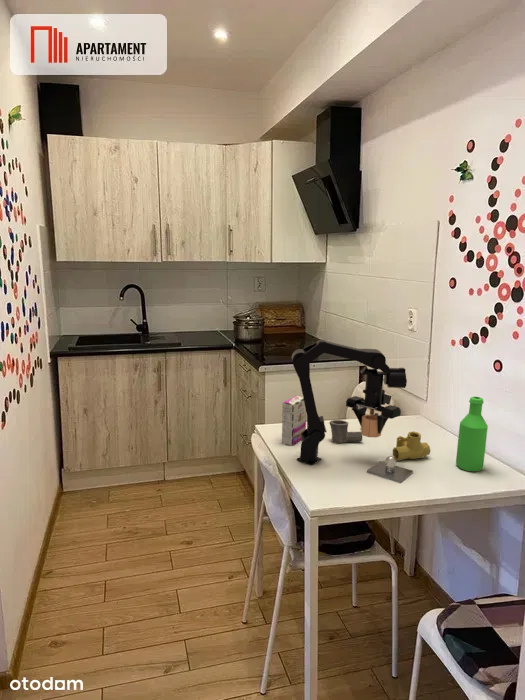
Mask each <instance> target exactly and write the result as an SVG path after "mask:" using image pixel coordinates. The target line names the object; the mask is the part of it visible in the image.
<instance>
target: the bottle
mask: <svg viewBox="0 0 525 700" xmlns="http://www.w3.org/2000/svg"><path fill="white" fill-rule="evenodd" d="M468 402H469V407H468V409H469V410H468V413H467V414H466V415H465V416H464V418H462V419H461V421H460V422H459V430H458V437H457V449H456V458H455V464H456V466H457V467H458V469H459V468H460V469H461V470H463V471H467V472H470V471H476V472H479V471H481V470H483V469H484V462H485V457H486V456H485V455H486V445H487V438H488V428H489V426H488V424H487V423H486V421H485V419H484V417H483V415H482V412H483V404H484V399H483V398H482V397H479V396H471V397H469V401H468Z"/></svg>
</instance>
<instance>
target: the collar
mask: <svg viewBox="0 0 525 700" xmlns="http://www.w3.org/2000/svg"><path fill="white" fill-rule="evenodd" d="M379 415H380V414H379V412H374V415H370V413H369V414H365V415H363V416H362V425H360V428H361V430H360V432H361V434H362V437H367V438H379V437H381V436H382V432H381V433H380V434H379V433H378V423H377V416H379Z"/></svg>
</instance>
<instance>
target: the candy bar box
mask: <svg viewBox="0 0 525 700" xmlns="http://www.w3.org/2000/svg"><path fill="white" fill-rule="evenodd" d="M281 415H282V417H281V419H282V420H281V422H282V423H281V425H282V426H281V427H282V428H281V443H282V444H283V445H288V446H290V447H291V446H292V447H293V446H294V445H296V444H298V443H299V442H300V441H302V438H301V433H302V432H303V431H305V430H306V429H307V412H306V408H305V403H304V398H303V396H301V395H295V396H293V397H290V398H288V399H287V400H285V401H283V402H282V414H281Z"/></svg>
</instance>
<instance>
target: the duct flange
mask: <svg viewBox="0 0 525 700" xmlns="http://www.w3.org/2000/svg"><path fill="white" fill-rule="evenodd" d="M366 473H367V474H370V475H374V476H377V477H379V478H384V479H386V480H389V481H393V482H396V483H399V484H401V483H402V482H404V481H405V480H406V479H407V478H409V477H410V476H411V475H412V474H413V473H414V470H413V469H408V468H404V467H401V466H398V465H396V460H395V458H394V456H393V455H389V456H386V460H385V461H381V460H380V461H378V462H377V463H375V464H373V465H372V466H371V467H369V468H367V469H366ZM408 476H409V477H408Z"/></svg>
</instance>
